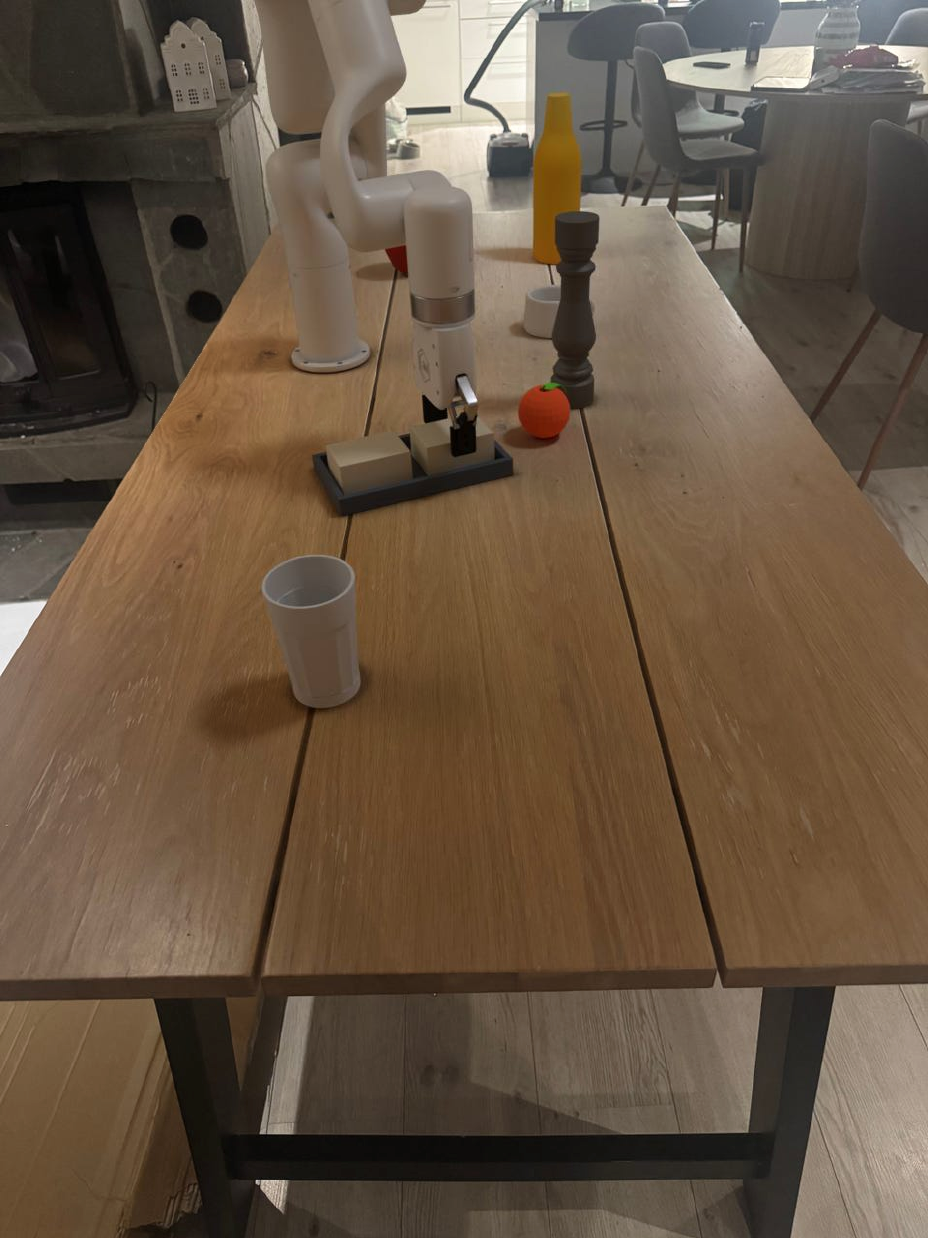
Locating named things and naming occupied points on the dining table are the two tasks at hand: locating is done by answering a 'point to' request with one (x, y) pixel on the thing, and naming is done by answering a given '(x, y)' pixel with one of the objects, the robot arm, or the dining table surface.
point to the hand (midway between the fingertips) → (449, 437)
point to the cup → (316, 627)
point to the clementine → (544, 410)
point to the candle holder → (575, 306)
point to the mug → (543, 310)
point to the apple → (398, 258)
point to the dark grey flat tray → (412, 481)
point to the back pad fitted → (369, 462)
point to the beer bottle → (554, 176)
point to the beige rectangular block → (448, 446)
